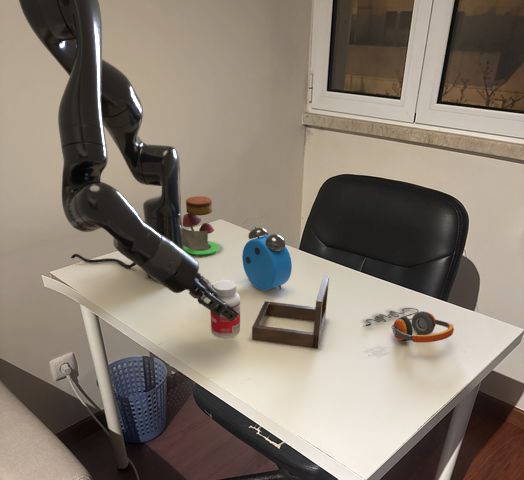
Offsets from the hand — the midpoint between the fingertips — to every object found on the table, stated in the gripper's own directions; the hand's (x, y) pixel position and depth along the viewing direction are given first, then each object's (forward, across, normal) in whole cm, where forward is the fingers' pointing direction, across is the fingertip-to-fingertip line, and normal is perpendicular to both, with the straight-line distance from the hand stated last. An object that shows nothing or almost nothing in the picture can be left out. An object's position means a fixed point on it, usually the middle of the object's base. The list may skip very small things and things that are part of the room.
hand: (229, 309), depth 103 cm
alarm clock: (+18, -23, +7) cm, 30 cm away
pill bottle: (+3, 0, -4) cm, 6 cm away
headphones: (+33, +10, +22) cm, 41 cm away
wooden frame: (+16, -1, +4) cm, 17 cm away
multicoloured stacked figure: (+12, -53, 0) cm, 55 cm away
